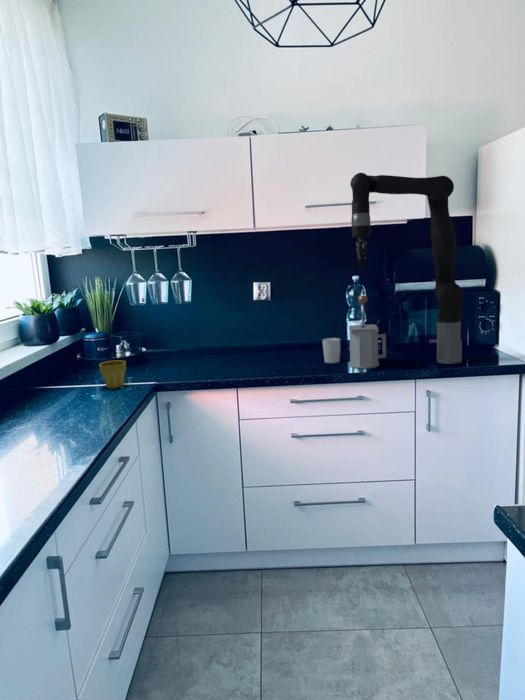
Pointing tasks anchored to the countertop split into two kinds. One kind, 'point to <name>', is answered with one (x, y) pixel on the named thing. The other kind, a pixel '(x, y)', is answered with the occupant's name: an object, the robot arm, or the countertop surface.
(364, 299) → the plunger
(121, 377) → the plant pot
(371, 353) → the press
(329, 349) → the white cup
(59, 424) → the countertop surface
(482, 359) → the countertop surface
